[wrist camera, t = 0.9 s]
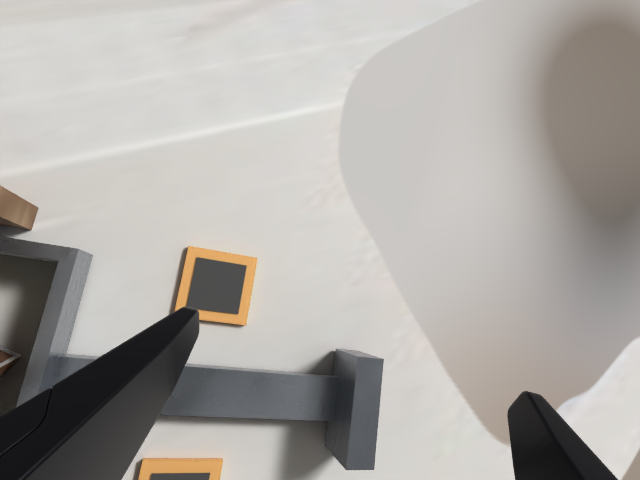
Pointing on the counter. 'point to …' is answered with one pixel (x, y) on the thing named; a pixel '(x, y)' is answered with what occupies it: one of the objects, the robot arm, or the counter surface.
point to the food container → (7, 359)
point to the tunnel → (16, 210)
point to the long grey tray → (215, 372)
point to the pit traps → (213, 305)
